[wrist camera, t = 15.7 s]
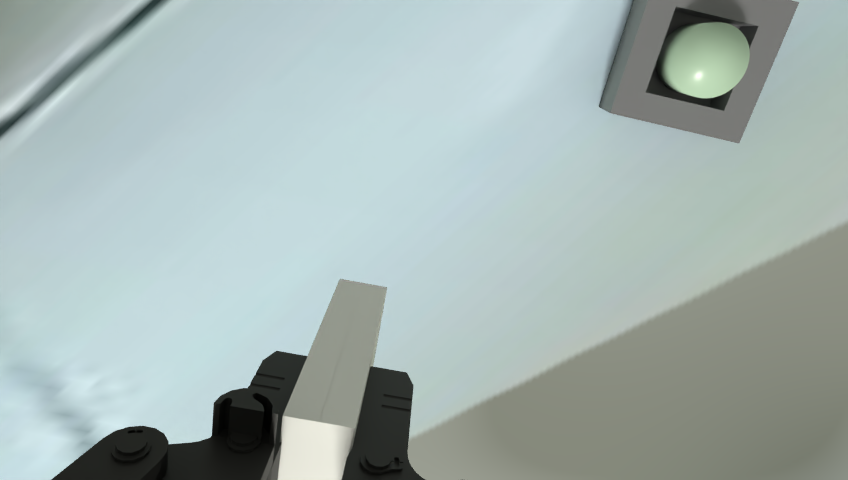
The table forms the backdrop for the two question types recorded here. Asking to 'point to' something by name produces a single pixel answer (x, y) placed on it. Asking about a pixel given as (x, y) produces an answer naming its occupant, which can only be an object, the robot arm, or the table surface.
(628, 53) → the button housing
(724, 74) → the button
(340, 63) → the table surface
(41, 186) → the table surface
